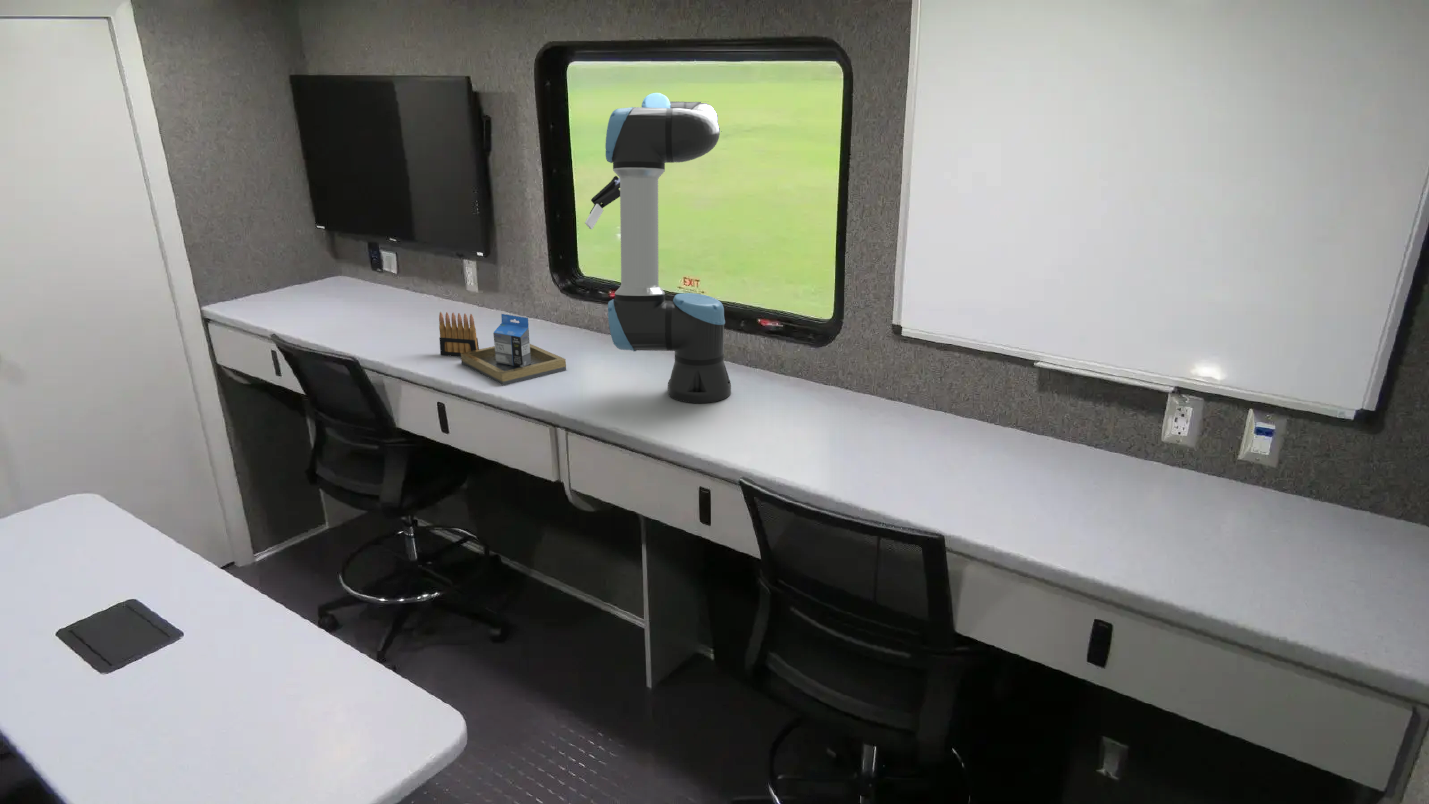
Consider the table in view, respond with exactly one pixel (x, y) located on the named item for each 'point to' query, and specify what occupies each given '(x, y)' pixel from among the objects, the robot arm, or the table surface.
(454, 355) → the ammunition clip
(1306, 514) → the table surface
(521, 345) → the blue and grey box
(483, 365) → the shallow wooden tray
